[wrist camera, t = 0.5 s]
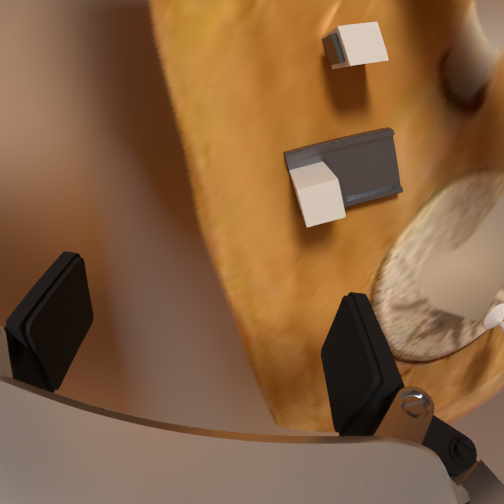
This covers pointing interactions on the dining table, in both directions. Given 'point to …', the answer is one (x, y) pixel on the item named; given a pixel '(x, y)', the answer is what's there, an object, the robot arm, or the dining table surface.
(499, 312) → the champagne flute
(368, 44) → the white rectangular block
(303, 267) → the dining table surface
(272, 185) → the dining table surface
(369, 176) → the grey slab
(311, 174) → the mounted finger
